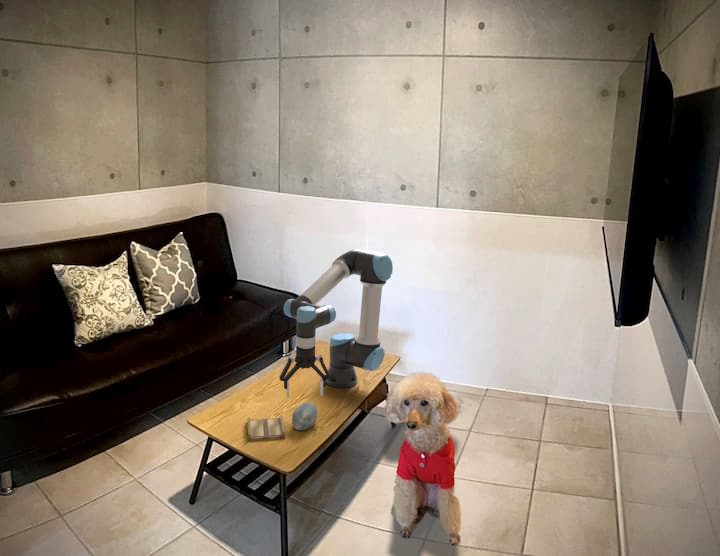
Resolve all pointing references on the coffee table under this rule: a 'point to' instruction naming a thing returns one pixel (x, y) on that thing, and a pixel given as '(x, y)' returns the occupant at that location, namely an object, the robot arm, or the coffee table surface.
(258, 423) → the shallow beige tray
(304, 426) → the grey streaked ellipsoid
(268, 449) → the coffee table surface
